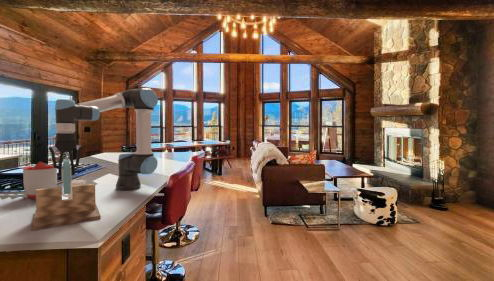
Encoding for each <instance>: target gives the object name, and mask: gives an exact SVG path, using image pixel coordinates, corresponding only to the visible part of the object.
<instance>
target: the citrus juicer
mask: <svg viewBox="0 0 494 281" xmlns="http://www.w3.org/2000/svg"><path fill="white" fill-rule="evenodd" d="M22 176H23V179H22V180H23V188H24V192H25V194H26V197H27V198H28V199H33V200H36V189H44V188H54V187H58V186H57V184H58V169H57V168H54V167H53V164H45V163H44V162H43V161H39V162H37V163H36V164H35V165H34V166H32V165H30V166H24V167H23V168H22Z"/></svg>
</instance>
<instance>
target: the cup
mask: <svg viewBox="0 0 494 281" xmlns="http://www.w3.org/2000/svg"><path fill="white" fill-rule="evenodd" d="M86 183H87V182H86V179H74V180H73V179H72V182H71V194H64V183H62V185H61V186H60V187H62V197H64V198H67V199H72V198H73V197H72V186H75V185H85V184H86Z"/></svg>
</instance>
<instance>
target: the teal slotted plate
mask: <svg viewBox="0 0 494 281" xmlns="http://www.w3.org/2000/svg"><path fill="white" fill-rule="evenodd" d="M62 167H63V178H64V183H63V184H64V187H63V194H65V195H68V194H71V181H70V168H71V163H70V159H66V160H64V159H63V160H62Z"/></svg>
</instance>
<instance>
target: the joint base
mask: <svg viewBox="0 0 494 281" xmlns="http://www.w3.org/2000/svg"><path fill="white" fill-rule="evenodd" d="M72 197H73V198H72V199H68V198H64V199H63V196H62V187H61V186H56V187H54V188H44V189H36V199H35V207H36V210H35V213H34V216H33V220H32V222H31V227H30V228H31V229H30V230H31V231H36V230H41V229H48V228H53V227H54V228H55V227H60V226H66V225H72V224H77V223H78V224H79V223H84V222H89V221H96V220H101V219H102V218H101V217H102V216H101V213H100V211H99V208H98V206H97V203H96V183H87V184H85V185H75V186H72Z"/></svg>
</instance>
